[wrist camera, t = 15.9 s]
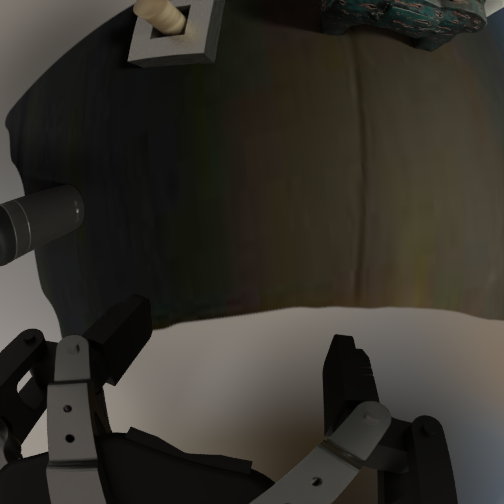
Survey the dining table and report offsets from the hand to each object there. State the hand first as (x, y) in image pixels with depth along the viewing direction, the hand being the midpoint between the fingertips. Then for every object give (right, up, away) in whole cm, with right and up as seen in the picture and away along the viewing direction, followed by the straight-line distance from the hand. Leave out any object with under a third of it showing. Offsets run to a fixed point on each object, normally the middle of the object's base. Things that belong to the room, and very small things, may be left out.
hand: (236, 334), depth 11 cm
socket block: (-10, +37, +20) cm, 44 cm away
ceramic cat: (+20, +35, +16) cm, 44 cm away
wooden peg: (-10, +37, +20) cm, 44 cm away
